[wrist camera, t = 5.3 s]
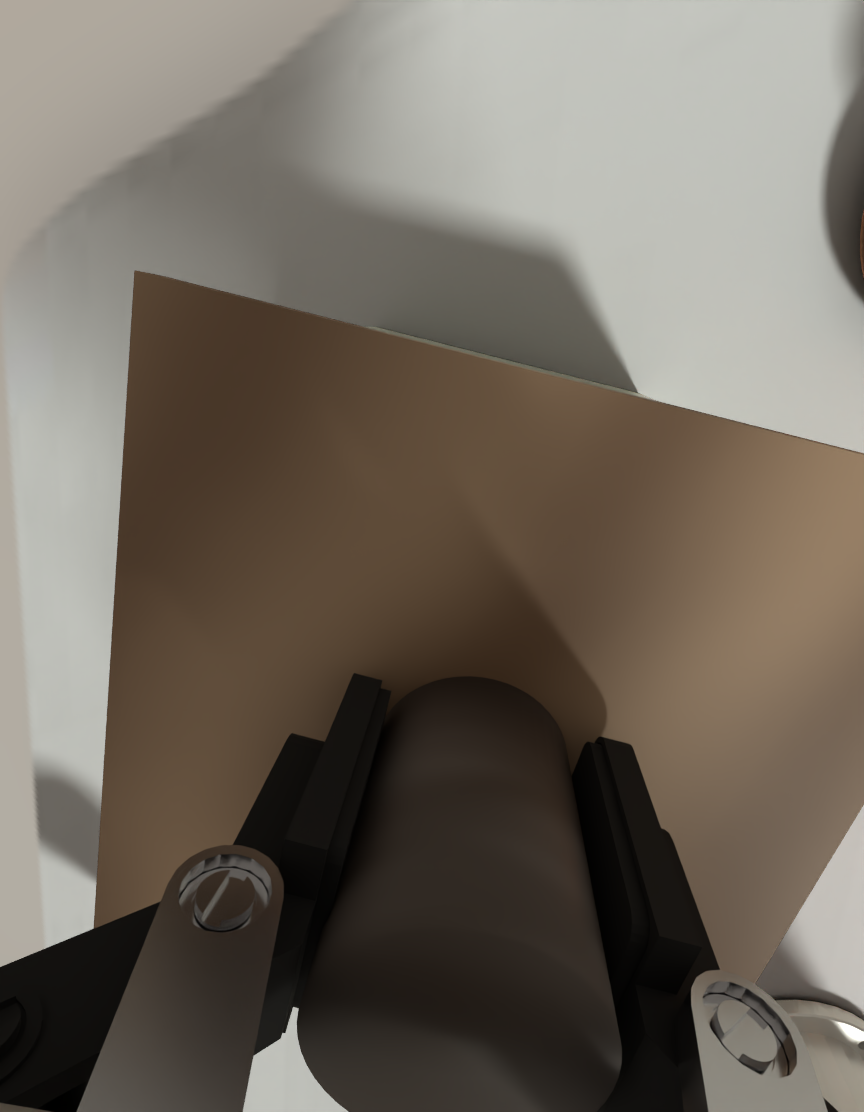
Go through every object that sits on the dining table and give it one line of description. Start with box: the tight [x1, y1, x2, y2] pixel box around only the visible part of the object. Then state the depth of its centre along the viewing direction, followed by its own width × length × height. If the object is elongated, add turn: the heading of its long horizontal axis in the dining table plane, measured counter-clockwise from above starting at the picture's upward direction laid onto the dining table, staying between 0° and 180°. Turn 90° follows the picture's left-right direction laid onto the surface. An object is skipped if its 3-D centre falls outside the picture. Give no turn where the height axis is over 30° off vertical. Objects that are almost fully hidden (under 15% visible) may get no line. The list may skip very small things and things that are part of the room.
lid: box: [94, 270, 864, 1112], centre depth 10 cm, size 14×14×6 cm
